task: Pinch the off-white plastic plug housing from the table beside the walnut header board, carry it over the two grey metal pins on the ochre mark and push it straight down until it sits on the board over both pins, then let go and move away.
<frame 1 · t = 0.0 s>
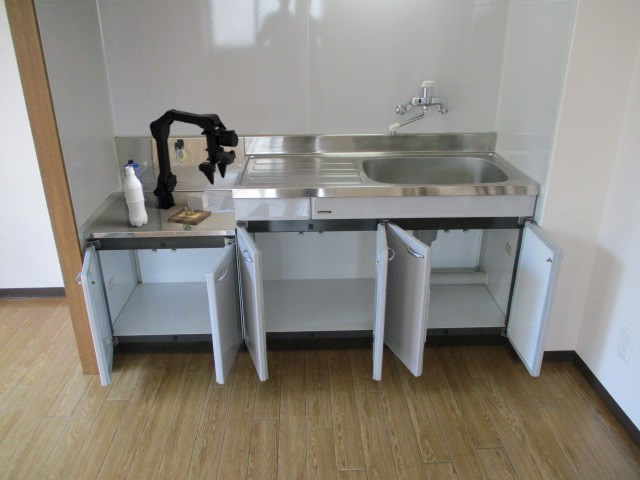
hand: (217, 181, 215), 15 cm above the table, tool pointing down, fingers open, 9 cm apart
header board: (190, 217, 217), on the table
water bottle: (139, 224, 212), on the table
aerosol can: (138, 201, 237), on the table
plug housing: (198, 207, 228), on the table
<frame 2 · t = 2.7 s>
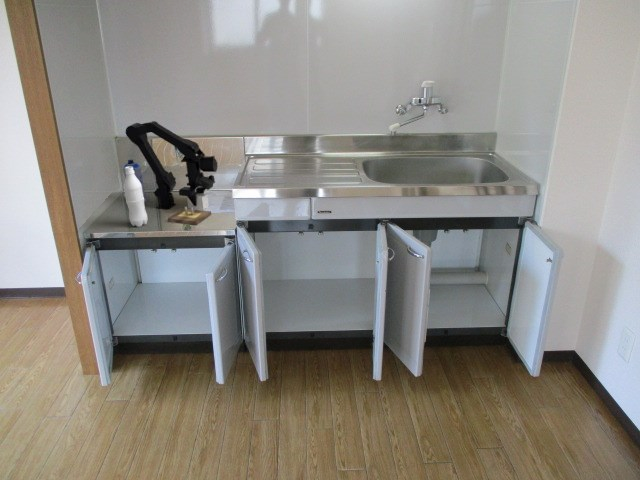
hand: (198, 204, 228), 2 cm above the table, tool pointing down, fingers closed on plug housing, 4 cm apart
plug housing: (198, 207, 228), on the table, touching gripper
everything else where it was.
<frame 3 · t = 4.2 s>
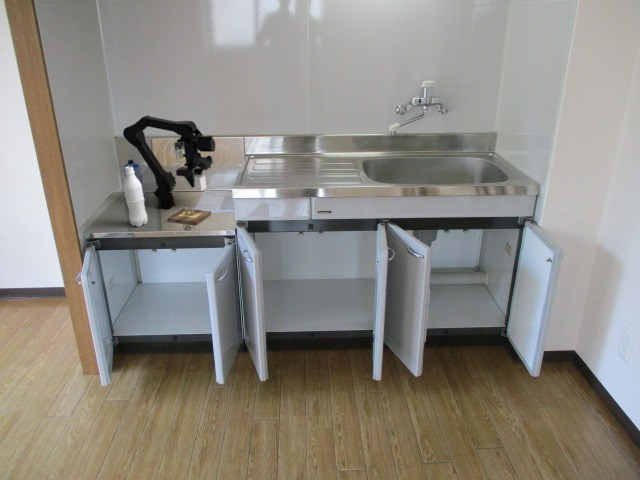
hand: (195, 185, 224), 10 cm above the table, tool pointing down, fingers closed on plug housing, 4 cm apart
plug housing: (196, 188, 224), point 9 cm above the table, touching gripper
everything else where it was.
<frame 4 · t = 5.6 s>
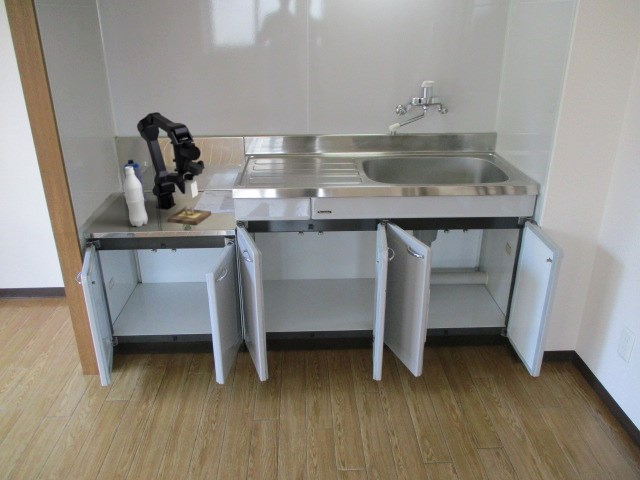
hand: (186, 191, 212), 12 cm above the table, tool pointing down, fingers closed on plug housing, 4 cm apart
plug housing: (187, 195, 213), point 10 cm above the table, touching gripper
everything else where it was.
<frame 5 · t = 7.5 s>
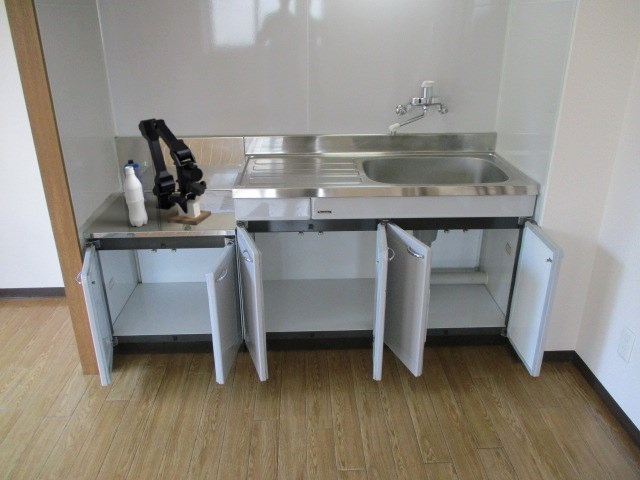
hand: (189, 211, 216), 3 cm above the table, tool pointing down, fingers closed on plug housing, 4 cm apart
plug housing: (189, 214, 216), point 2 cm above the table, touching gripper
everything else where it was.
when the fingers open (3 cm above the table, at t = 8.6 s): plug housing stays where it is, resting on header board.
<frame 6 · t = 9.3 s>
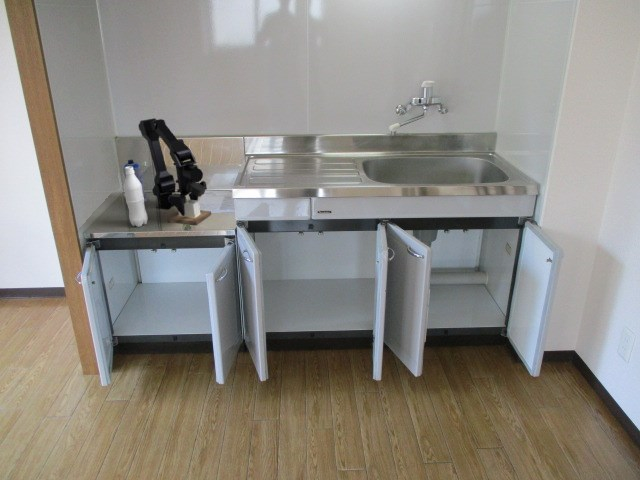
hand: (189, 211, 216), 3 cm above the table, tool pointing down, fingers open, 9 cm apart
plug housing: (189, 214, 216), point 2 cm above the table, touching header board
everything else where it was.
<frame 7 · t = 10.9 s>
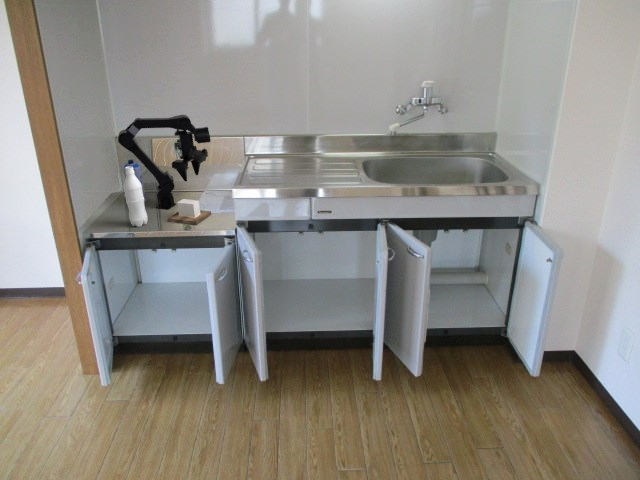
hand: (191, 178, 228), 12 cm above the table, tool pointing down, fingers open, 9 cm apart
nothing on the table moved.
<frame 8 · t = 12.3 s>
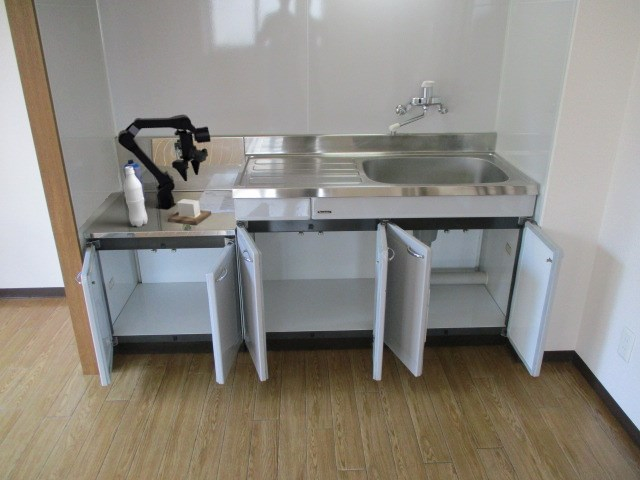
hand: (191, 177, 229), 12 cm above the table, tool pointing down, fingers open, 9 cm apart
nothing on the table moved.
at the end: plug housing 0.0 cm off-centre on the header board, point 1.5 cm above the header board's base; plug housing tilted 0°; the gripper is holding nothing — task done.
